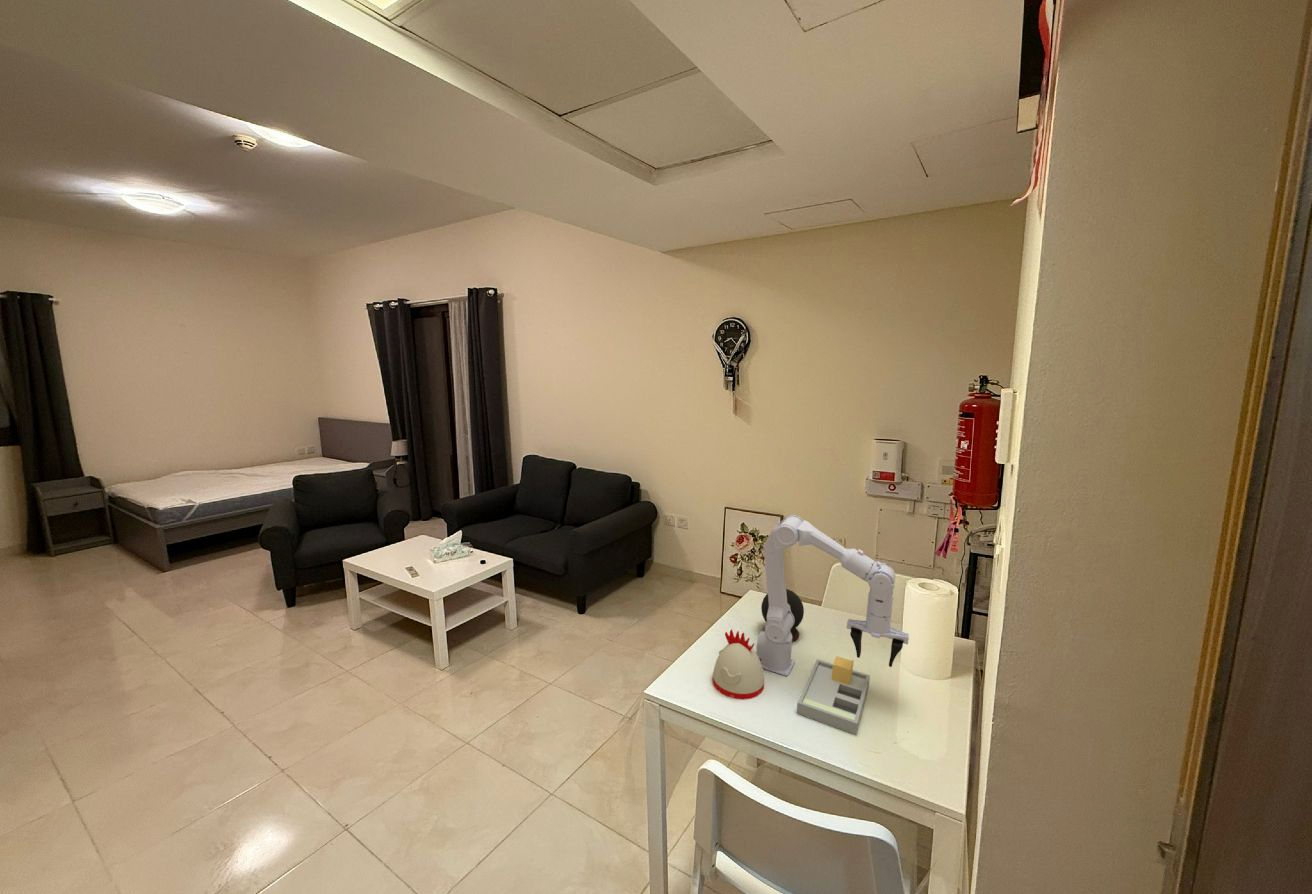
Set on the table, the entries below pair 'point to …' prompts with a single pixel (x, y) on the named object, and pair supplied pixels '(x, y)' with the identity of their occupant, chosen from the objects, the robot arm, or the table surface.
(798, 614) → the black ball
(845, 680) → the block
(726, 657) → the kitchen timer
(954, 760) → the table surface
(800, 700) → the box
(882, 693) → the table surface
